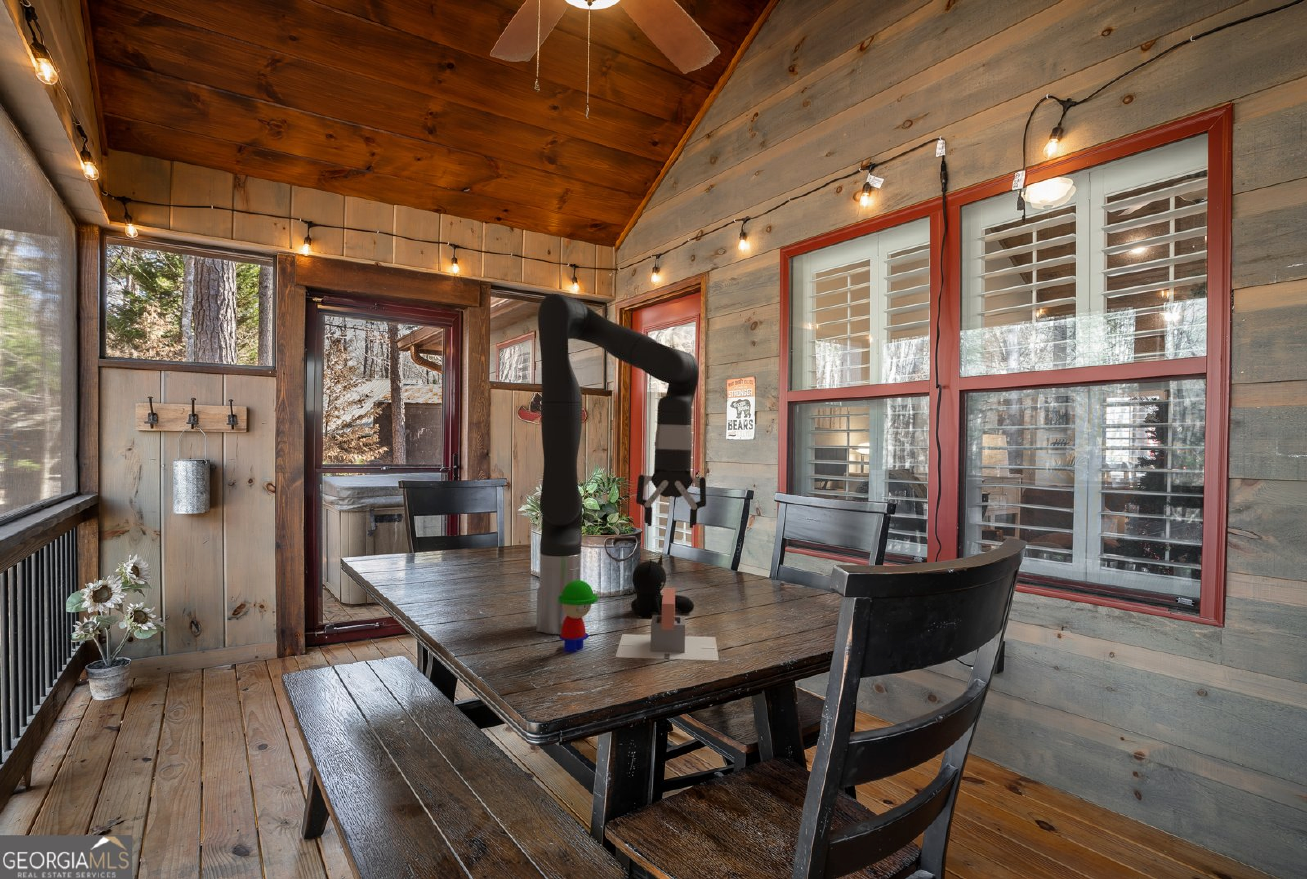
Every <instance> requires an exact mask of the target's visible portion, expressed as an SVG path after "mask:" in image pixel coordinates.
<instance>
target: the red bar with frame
mask: <svg viewBox="0 0 1307 879" xmlns="http://www.w3.org/2000/svg"><path fill="white" fill-rule="evenodd" d="M662 592H663V593H662V595H663V599H662V615H653V616H652V618H651V623H650V635H651V651H650V652H673V653H685V636H686V615H675V614H676V609H675V595H676V588H675V587H663V591H662ZM661 620H662V623H659V622H660V621H661ZM674 621H677V623H674Z"/></svg>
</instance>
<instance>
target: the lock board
mask: <svg viewBox="0 0 1307 879" xmlns="http://www.w3.org/2000/svg"><path fill="white" fill-rule="evenodd" d="M659 623H662V620H661V621H660V622H659ZM674 623H677V621H674ZM650 651H651V634H623V633H622V635H621V638H620V641H619V644H618V647H617V650H616V654H615V656H614V657H615V658H626V659H627V658H628V659H629V658H630V659H632V658H634V659H655V660H656V659H657V660H659V659H660V660H663V659H664V660H691V661H692V660H693V661H718V662H719V661H720V660H719V654H718V647H717V640H716V636H694V635H693V636H692V635H691V636H690V635H689V636H687V635H685V653H673V652H650Z"/></svg>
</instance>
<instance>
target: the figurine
mask: <svg viewBox="0 0 1307 879" xmlns="http://www.w3.org/2000/svg"><path fill="white" fill-rule="evenodd" d="M663 563H664V562H663V554H661V555H660V557H659V560H658V561H653V560H652V559H651V558H649V560H645V561H642V562H641V563H639V564H638V565H636V567H635V569H634V570H633V571H632V576H631V581H632V584H633V587H634V589H635V590H636V598H634V599H633V600H632V601H631V603H630V608H631V610H632V612H634V613H635V614H636V616H637V617H639V618H642V619H643V618H646V619H650V618H651V619H652V616H653V615H662V599H663V594H662V590H664V588H665V585H666V582H667V573H666V571H665V570H666V569H664V567H663ZM694 608H695V604H694V602H693V601H692V600H691V599H690V598H689V597H687V596H685V595H677V594H675V610H678V611H679V612H680V613H682V614H690V613H691V612H692V611H693V610H694Z"/></svg>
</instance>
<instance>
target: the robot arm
mask: <svg viewBox="0 0 1307 879" xmlns="http://www.w3.org/2000/svg"><path fill="white" fill-rule="evenodd" d="M537 329H538V338H539V350H540V362H541V363H540V364H541V365H540V366H541V399H540V400H541V403H540V422H541V423H540V424H541V428H540V429H541V442H542V444H541V445H542V450H543V451H542V452H543V473H542V482H541V483H542V484H541V492H540V497H539V498H540V499H539V508H540V509H539V510H540V512H541V535H540V541H539V542H540V543H539V546H540V547H539V587H538V588H537V590H536V629H535V630H536V632H540V633H545V634H548V635H560V634H561V629H562V625H563V622H564V619H565V618H566V616H567V615H566V614H565V612H564V611H563V608H562V603H560V602H559V601H558V596H559V595H561V594H562V592H563V589H564V588H565V586H566V585H567V584H568V583H570V582H572V581H575V580H581V573H582V572H581V570H582V568H581V567H582V565H581V564H582V563H581V562H582V541H583V539H582V538H583V537H582V536H583V496H582V493H581V491H580V489H579V478H578V457H579V455H578V454H579V449H580V443H581V437H582V436H581V435H582V428H583V395H582V390H581V388H580V384H579V382H578V379H577V377H576V374H575V371H574V370H573V367H572V364H571V361H570V356H569V340H578V341H583V342H586V343H590V344H593V345H596V346H598V347H600V348H602V349H603V350H604V351H606V352H607V353H608V354H610V355H611V356H613V357H614V358H616V359H618V360H620V361H622V362H623V363H626V364H628V365H630V366H632V367H634V368H636V369H640V370H641V371H643V372H645V373H646V374H648V375H649V376H651V377H653V378H655V379H657V381H661V382H663V383H666V384H668V385H667V389H666V395H665V396H662V397H660V399H659V401H658V403H657V415H656V416H657V417H656V418H657V419H656V420H657V422H656V431H655V440H654V461H653V462H654V466H653V473H652V475H645V474H640V475H638V478H637V487H636V497H635V498H636V500H635V502H636V504H637V505H641V506H642V507H644V524H647V527H652V525H653V524H652V523H653V506H652V504H653V503H655V501H656V500H657V499H658V497H660V496H661V497H663V498H669V497H673V498H681V497H683V498H684V500H685V501H686V502H687V504H688V506H689V507H690V509H689V529H693V528H694V526H696V525H697V522H698V510H699V509H701V508H705V507H706V506H707V486H706V485H707V484H706V483H707V482H706V477H705V476H701V477H693V476H692V473H691V471H692V451H693V450H692V449H693V448H692V446H693V436H692V435H693V433H692V416H693V415H692V414H693V411H692V408H693V407H692V405H693V402H694V399H695V396H696V392H697V387H698V382H699V380H700V379H699V377H700V376H699V375H700V371H699V370H700V368H699V363H698V361H697V358H696V357H695V356H694V355H693V354H692V353H690V352H686V351H684V350H680V349H676V348H674V347H670V346H668V345H665V344H662V343H660V342H658V341H657V340H656V339H654V338H652V337H650V336H648V335H645V334H644V333H641V332H639V331H636V330H634V329H632V328H629V327H626V326H624V325H622V324H618V323H616V322H613V321H611V320H609V319H608V318H605V317H604V316H602V315H601V314H599V313H598V312H596V311H595V310H593V309H592V308H590V307H589V306H587V304H585V303H583V302H581V301H580V300H579V299H576V298H572V297H569V296H566V295H563V294H559V293H550V294H548V295H547V296H545V297H544V298H543V300H542V301H541V303H540V306H539V308H538V313H537ZM649 482H651V483H652V484H653V486H654V487H655V491H653V493H652V494H651V495H650V497H649V498H648V499H646V498H644V494H645V493H644V492H645V487H646V486H647V485H648V484H649ZM692 484H695V487H696V488H697V489H699V500H698V501H695V500H694V498H693V496H692V495H691V493H690V492H689V490H688V489H689V488H690V487H691V486H692ZM581 581H582V580H581Z"/></svg>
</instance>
